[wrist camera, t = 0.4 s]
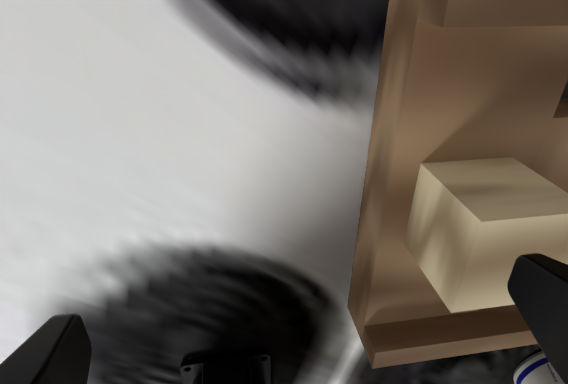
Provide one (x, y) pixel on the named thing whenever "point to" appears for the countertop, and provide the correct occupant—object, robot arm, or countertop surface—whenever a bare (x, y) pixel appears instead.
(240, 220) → the countertop surface
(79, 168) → the countertop surface
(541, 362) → the energy drink
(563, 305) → the robot arm
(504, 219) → the maple cube
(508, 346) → the trap box
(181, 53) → the countertop surface
